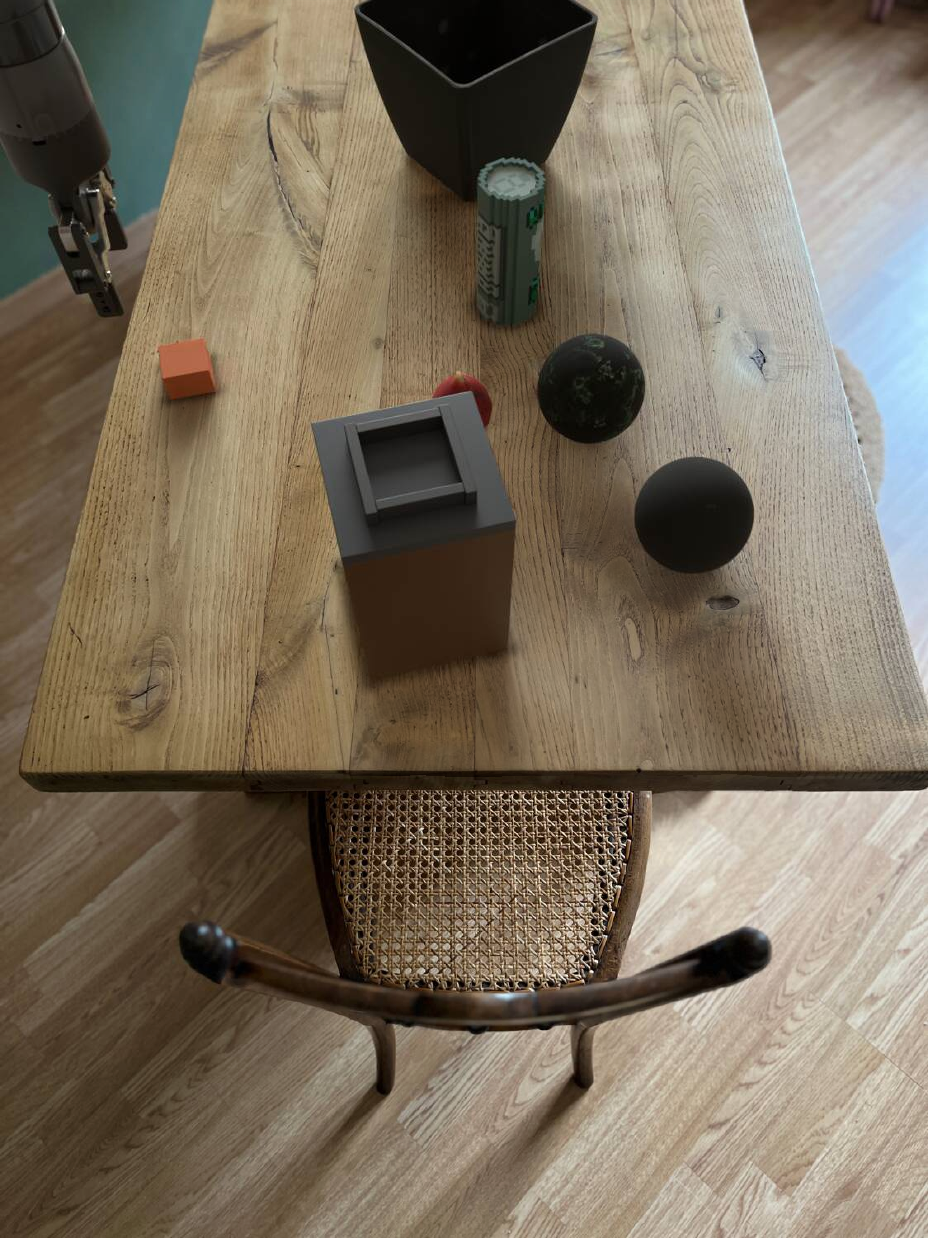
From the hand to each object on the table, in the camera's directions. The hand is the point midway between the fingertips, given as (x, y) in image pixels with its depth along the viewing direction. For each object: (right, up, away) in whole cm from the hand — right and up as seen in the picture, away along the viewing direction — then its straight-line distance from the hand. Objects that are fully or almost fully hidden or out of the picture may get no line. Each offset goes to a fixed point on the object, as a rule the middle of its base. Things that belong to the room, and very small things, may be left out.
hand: (115, 280), depth 82 cm
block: (+3, -6, +12) cm, 14 cm away
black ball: (+51, -24, +2) cm, 56 cm away
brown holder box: (+27, -29, -1) cm, 40 cm away
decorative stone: (+43, -11, +9) cm, 45 cm away
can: (+36, +3, +17) cm, 40 cm away
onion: (+31, -12, +8) cm, 34 cm away
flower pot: (+32, +25, +29) cm, 50 cm away
